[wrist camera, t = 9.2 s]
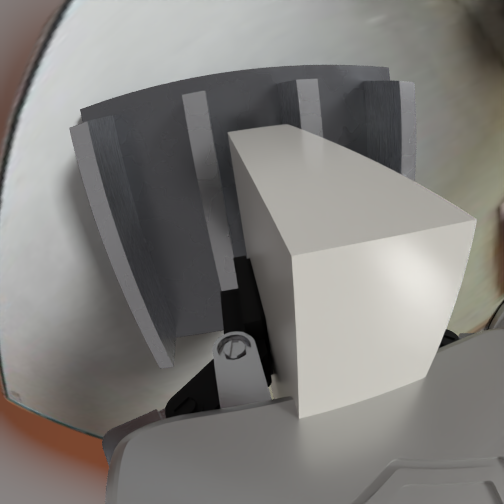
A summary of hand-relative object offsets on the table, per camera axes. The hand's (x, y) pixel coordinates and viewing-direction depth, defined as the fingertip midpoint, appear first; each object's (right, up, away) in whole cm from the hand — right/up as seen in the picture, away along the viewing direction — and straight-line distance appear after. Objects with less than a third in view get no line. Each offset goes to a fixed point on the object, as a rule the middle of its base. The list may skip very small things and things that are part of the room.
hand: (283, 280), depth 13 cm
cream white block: (0, +1, +2) cm, 2 cm away
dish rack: (-1, +4, +7) cm, 8 cm away
